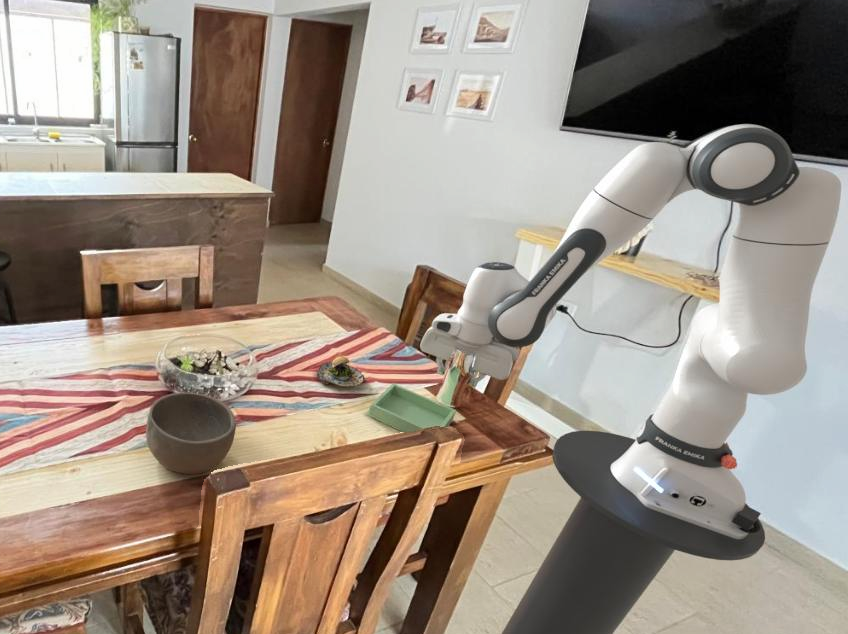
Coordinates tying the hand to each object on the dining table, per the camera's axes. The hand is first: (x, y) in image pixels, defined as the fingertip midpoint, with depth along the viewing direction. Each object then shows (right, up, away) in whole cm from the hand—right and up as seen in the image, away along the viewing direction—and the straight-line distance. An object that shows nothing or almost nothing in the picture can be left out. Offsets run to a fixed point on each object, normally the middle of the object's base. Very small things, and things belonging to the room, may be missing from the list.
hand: (456, 379), depth 126 cm
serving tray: (-13, -9, -5) cm, 16 cm away
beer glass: (0, -6, +3) cm, 6 cm away
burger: (-26, -1, +8) cm, 28 cm away
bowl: (-65, -13, -24) cm, 70 cm away
